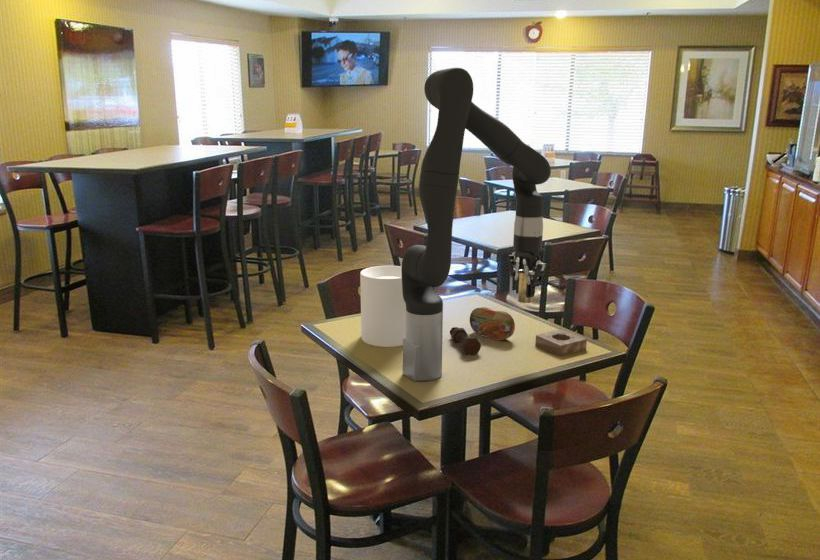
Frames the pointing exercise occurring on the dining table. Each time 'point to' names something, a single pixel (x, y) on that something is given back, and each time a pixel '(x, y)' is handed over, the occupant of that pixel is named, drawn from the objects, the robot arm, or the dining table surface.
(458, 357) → the dining table surface
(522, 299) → the bushing
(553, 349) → the block
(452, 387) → the dining table surface
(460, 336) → the dark brown lumpy piece
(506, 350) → the dining table surface
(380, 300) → the canister
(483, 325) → the tin
